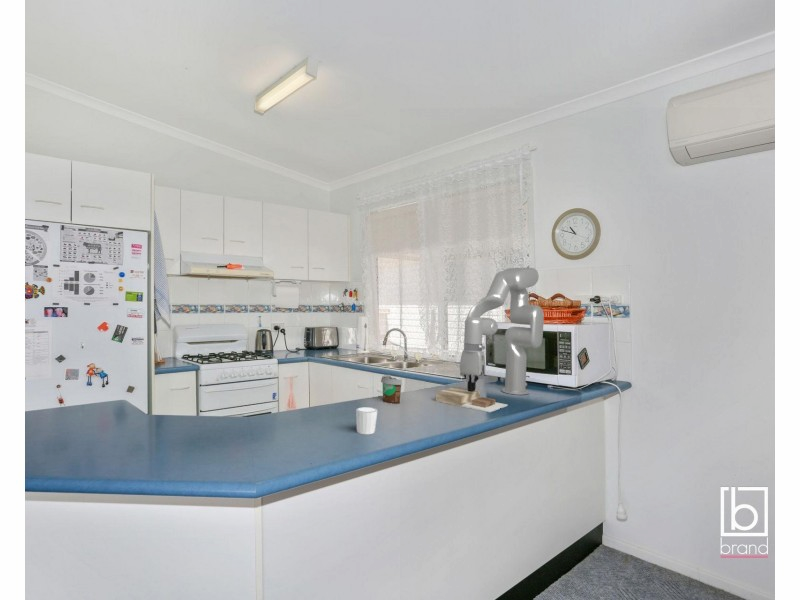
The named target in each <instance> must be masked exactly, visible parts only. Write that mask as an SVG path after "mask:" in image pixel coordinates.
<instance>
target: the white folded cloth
mask: <svg viewBox="0 0 800 600" xmlns="http://www.w3.org/2000/svg"><path fill="white" fill-rule="evenodd" d="M462 407H463V408H467V409H470V410H475V411H480V412H486V413H492V412H495V411H497V410H501V409H503V408H505V407H508V404H506V403H501V402H496V401H495V405H492V406H489V407H486V408H484V407H479V406H474V405H472V402H470V403H467V404H464V405H462V406H461V408H462ZM500 408H501V409H500Z"/></svg>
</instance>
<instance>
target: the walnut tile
mask: <svg viewBox="0 0 800 600" xmlns="http://www.w3.org/2000/svg"><path fill="white" fill-rule="evenodd" d="M495 402H496V399H494V398H489V397H485V396H480V398H477V399H474V400H472V405H474V406H479V407H484V408H486V407H489V406H492V405H495Z"/></svg>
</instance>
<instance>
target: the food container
mask: <svg viewBox="0 0 800 600" xmlns="http://www.w3.org/2000/svg"><path fill="white" fill-rule="evenodd" d="M402 381H403V380H402V379H397V378H396V377H392V375H391V374H384V375H383V376H381V379H380V382H381V383H382V402H384V403H387V404H391V403H392V404H394V405H396V404H398V405H399V404H400V403H401V390H402V385H403V382H402Z"/></svg>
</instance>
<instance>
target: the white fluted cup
mask: <svg viewBox="0 0 800 600" xmlns="http://www.w3.org/2000/svg"><path fill="white" fill-rule="evenodd" d="M378 411H379V410H378V409H377V408H374V407H371V406H370V407H368V406H365V407H364V406H362V407H358V408H355V419H356V422H355V423H356V433H358V434H361V435H371V434H374V433H375V432H376V424H377V418H378Z"/></svg>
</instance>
